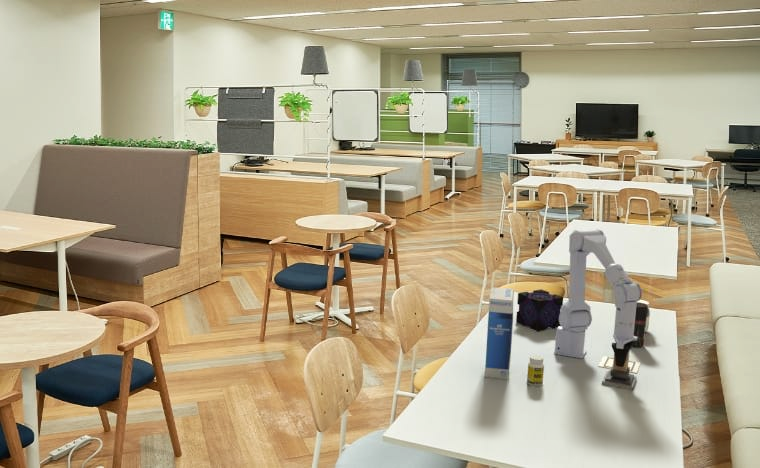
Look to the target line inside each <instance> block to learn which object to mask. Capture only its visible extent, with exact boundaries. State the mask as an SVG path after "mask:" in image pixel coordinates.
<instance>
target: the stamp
mask: <svg viewBox="0 0 760 468" xmlns="http://www.w3.org/2000/svg"><path fill="white" fill-rule="evenodd" d="M630 351H631V349H630V350H629V352H628V354H627V357H626V360H625V364H624V366H623V367H619V366H616V361H615V354H614V353H613V358H614V361H613V366H612V368H611V369H610V371H611V373H610V376H615V377H620V378H625V379H627V378H628V375H629V374H630V372H629V371H630V367H628V362H629V361H630Z"/></svg>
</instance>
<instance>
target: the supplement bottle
mask: <svg viewBox="0 0 760 468" xmlns="http://www.w3.org/2000/svg"><path fill="white" fill-rule="evenodd" d="M544 370H545V365H544V357H543V356H541V355H535V354H533V355H530V357H529V362H528V364H527V375H526V383H527V384H528V385H529V386H533V387H540V386H542V385H543V383H544V373H545V372H544Z"/></svg>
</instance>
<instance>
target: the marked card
mask: <svg viewBox="0 0 760 468" xmlns="http://www.w3.org/2000/svg"><path fill="white" fill-rule="evenodd" d="M613 361H614V357H610V356H605V355H604V356H602V358H601V360H600V362H599V363H598V366H597V367H599V368H605V369H610V370H611V368H612V366H613ZM640 366H641V362H639V361H633V360H629V362H628V367H630V371H629V373H631V374H637V373H638V372H639V369H640Z"/></svg>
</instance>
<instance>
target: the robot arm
mask: <svg viewBox="0 0 760 468" xmlns="http://www.w3.org/2000/svg"><path fill="white" fill-rule="evenodd" d="M606 244H607V237H606V236H605V234H604V232H603V230H602V229H599V228H597V229H584V230H578V229H577V230H576V229H575V230H574V231H572V233H571V234H570V235H569V245H568V246H569V247H568V248H569V249H568V252H569V277H568V278H569V279H568V281H569V282H568V285H569V286H568V300H566V301H565V302H563V305H562V306H561V311H560V315H559V323H560V325H561V326H558V328H556V333H555V341H554V342H555V344H554V355H560V356H565V357H571V358H577V359H583V358H584V356H585V355H586V353H587V349H585V341H586V340H585V339H586V330H588V328H589V327H590V326H591V324H592V322H593V317H592V313H591V312H592V311H591V306H590V305H589V304H588V303H587V302H586V298H585V297H586V281H587V279H586V275H587V274H586V273H587V256H589V255H590V254H593V255H594V256H596V257H595V258H596V259H598V261H599V262H600V264H601V265H602V266H603V268H604V269H605V271H604V276H605V278H606V280H608V283H609V284H610V285H611V287H612V289H613V291H612V294H613V299H614V307H616V308H615V318H614V329H613V333H612V337H613V339H614V342H611V348H612V351H613V355H614V354H615V361H616V366H619V367H623V366H624V364H625V360H626V357H627V354H628V352H629V350H630V351H631V349H632V347H631V345H632V344H633V342H634V340H637V337H636V336H633V335H634V325H635V314H636V304H637V302H636V301H639V300H642V295H643V292H642V291H643V290H642V288H641V286H640V284H639V283H638V282H635V281H634V280H631V278H630V277H629V275H628V273H627V272H626V271H625V269H624V267H623V266H622V265H621V264H619V263H616V262H615V260H614V258H613V256H612V253H611V252H610V250H609V249H608V246H607V245H606ZM629 353H630V352H629Z"/></svg>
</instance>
